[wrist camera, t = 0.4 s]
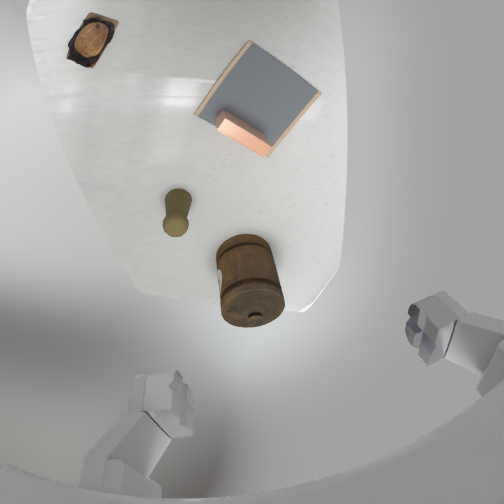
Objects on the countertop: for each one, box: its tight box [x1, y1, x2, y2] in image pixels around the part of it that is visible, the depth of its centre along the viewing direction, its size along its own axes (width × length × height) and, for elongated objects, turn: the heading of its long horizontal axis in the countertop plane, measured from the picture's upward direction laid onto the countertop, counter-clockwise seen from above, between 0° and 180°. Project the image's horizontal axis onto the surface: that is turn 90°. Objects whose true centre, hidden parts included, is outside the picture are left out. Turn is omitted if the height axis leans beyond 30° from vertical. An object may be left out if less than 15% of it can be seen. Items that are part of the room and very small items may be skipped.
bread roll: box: [66, 13, 118, 68], centre depth 31 cm, size 11×9×4 cm
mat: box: [194, 41, 321, 157], centre depth 48 cm, size 18×18×1 cm
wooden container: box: [216, 235, 285, 327], centre depth 67 cm, size 15×15×22 cm
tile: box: [215, 109, 272, 158], centre depth 48 cm, size 2×10×8 cm, turn 54°
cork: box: [163, 189, 192, 237], centre depth 56 cm, size 6×6×11 cm
